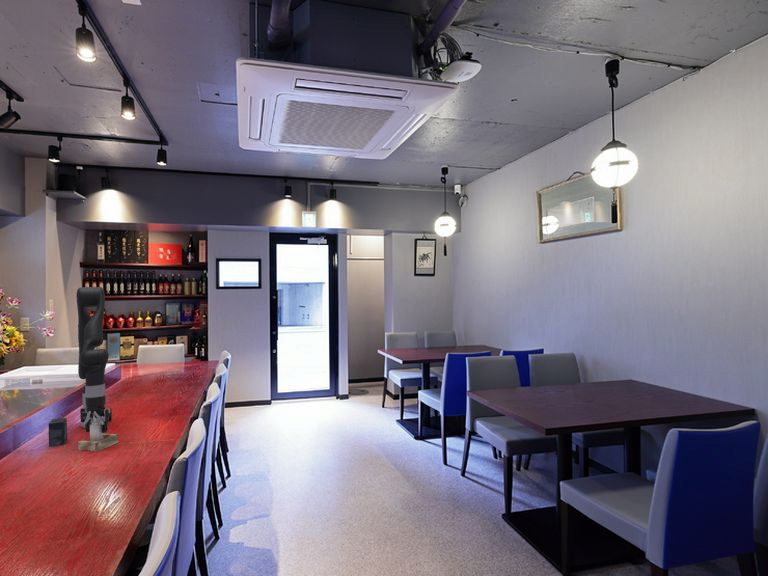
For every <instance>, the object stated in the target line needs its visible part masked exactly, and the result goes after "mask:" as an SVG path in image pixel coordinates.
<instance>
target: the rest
mask: <svg viewBox="0 0 768 576" xmlns="http://www.w3.org/2000/svg"><path fill="white" fill-rule="evenodd" d="M103 436H104V439H103V440H100V441H90V440H80V441H78V442H77V448H78V449H77V450H78V451H83V450H88V451H87V452H100V451H102V450H104V449H106V448H109V447H112V446H113V445H115V444H118V443H119V433H103ZM89 450H90V451H89Z"/></svg>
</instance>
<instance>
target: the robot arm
mask: <svg viewBox="0 0 768 576" xmlns="http://www.w3.org/2000/svg"><path fill="white" fill-rule="evenodd" d="M75 296H76V297H75V298H76V307H77V308H76V309H77V318H78V319H77V321H78V322H77V325H78V326H77V335H78V337H77V339H78V340H77V341H78V365H77V366H78V367H77V368H78V370H77V372H78V378H79V379H80V380H85V386H83V387H82V392H81V393H82V395H81V396H82V407H81V408H80V410H79V411H80V414H79V415H80V422H81V428H84V429H85V432H86V433H90V424H91V422H93V415H92V413H94V414H95V418H97V419H98V420H99V421H100V422H101V423H102V425H101V431H102V433H103V434H106V433H107V432H108V423H111V422H113V421H112V420H113V417H112V416H113V413H112V411H113V409H112V408H111V407H109V408H106V404H107V401H106V400H107V399H106V398H107V395H106V384H105V383H106V382H105V380H106V379H105V378H106V377H105V376H106V375H105V372H106V367H107V364H108V361H109V357H110V356H109V352H108V350H107V349H105V348H98V349H97V347H100V346H102V345H103V343H104V333H103V331H104V329H103V328H104V327H103V326H104V325H103V324H104V317H105V307H106V305H105V304H106V294H105V289H104V288H103V287H100V286H84V287H83V286H82V287H78V289H77V290H76V295H75ZM87 307H88V308H89V307H90V308H91V307H96V310H95V312H94V313H93V315H92V316H91V315H90V313H89V312H88V309H87Z"/></svg>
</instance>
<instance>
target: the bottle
mask: <svg viewBox="0 0 768 576" xmlns="http://www.w3.org/2000/svg"><path fill="white" fill-rule="evenodd" d="M92 415H93V422H91V424H90V432H89V441H100V440H103V439H104V436H103V434H104V433H102V431H101V425H102V423H101V422H100V421H99V420H98V419H97V418H95V414H94V413H92Z"/></svg>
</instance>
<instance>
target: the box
mask: <svg viewBox="0 0 768 576" xmlns="http://www.w3.org/2000/svg"><path fill="white" fill-rule="evenodd" d="M67 441H68V417H59V418H52V419H51V420H50V422H48V447H49V448H51V447H58V446H59V447H60V446H64V444H65V443H66V442H67Z"/></svg>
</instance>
